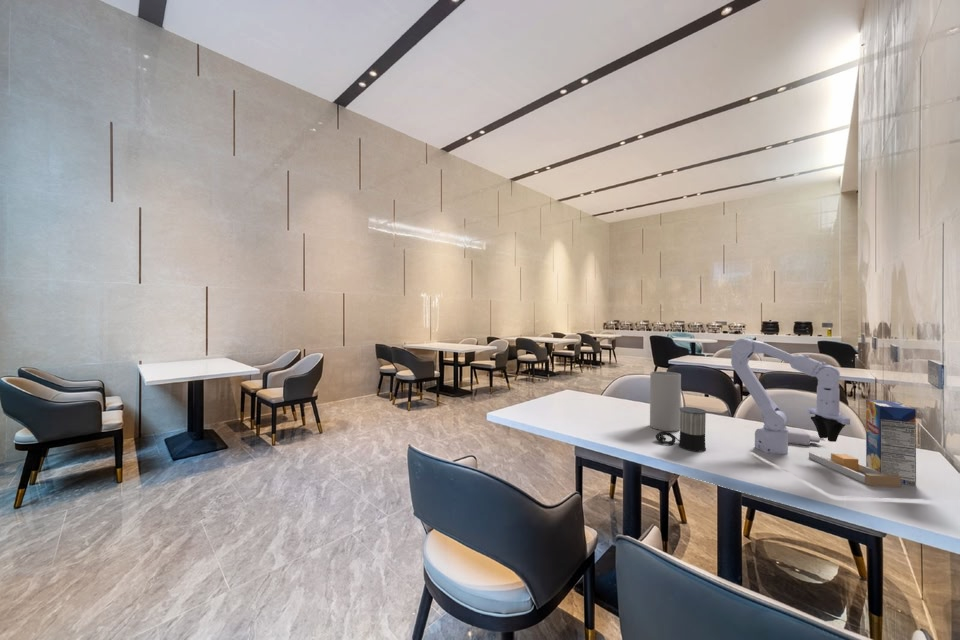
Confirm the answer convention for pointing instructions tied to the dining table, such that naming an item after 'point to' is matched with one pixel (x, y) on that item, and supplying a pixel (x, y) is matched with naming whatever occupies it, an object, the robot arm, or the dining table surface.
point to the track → (860, 473)
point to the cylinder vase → (665, 400)
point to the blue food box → (891, 439)
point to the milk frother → (689, 430)
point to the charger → (801, 437)
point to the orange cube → (845, 461)
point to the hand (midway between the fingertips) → (827, 439)
